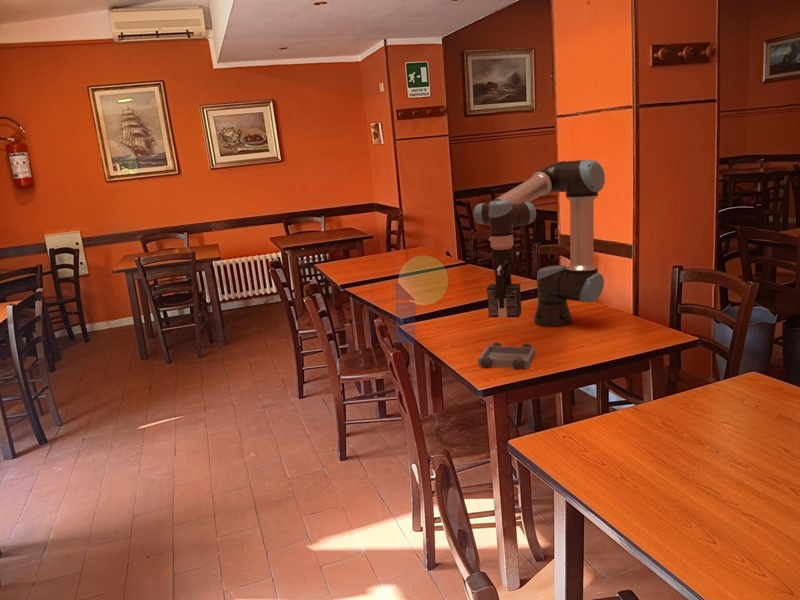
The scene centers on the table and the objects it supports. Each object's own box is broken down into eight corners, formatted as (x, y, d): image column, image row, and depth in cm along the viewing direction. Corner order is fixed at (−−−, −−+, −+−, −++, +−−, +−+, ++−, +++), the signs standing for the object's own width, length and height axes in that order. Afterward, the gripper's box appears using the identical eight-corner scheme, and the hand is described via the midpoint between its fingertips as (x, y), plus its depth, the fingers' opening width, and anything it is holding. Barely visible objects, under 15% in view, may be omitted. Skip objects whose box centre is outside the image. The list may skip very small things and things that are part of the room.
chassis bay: (489, 351, 220) (488, 341, 219) (535, 353, 213) (535, 343, 213) (477, 367, 205) (476, 357, 204) (527, 370, 198) (527, 359, 198)
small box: (522, 312, 206) (520, 282, 204) (519, 317, 201) (517, 287, 198) (491, 312, 210) (490, 283, 208) (488, 317, 204) (486, 287, 202)
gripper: (497, 243, 210) (500, 306, 215) (483, 253, 193) (487, 321, 198) (518, 242, 207) (521, 306, 213) (507, 252, 190) (510, 322, 195)
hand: (505, 314), depth 205 cm, fingers closed on small box, 6 cm apart
